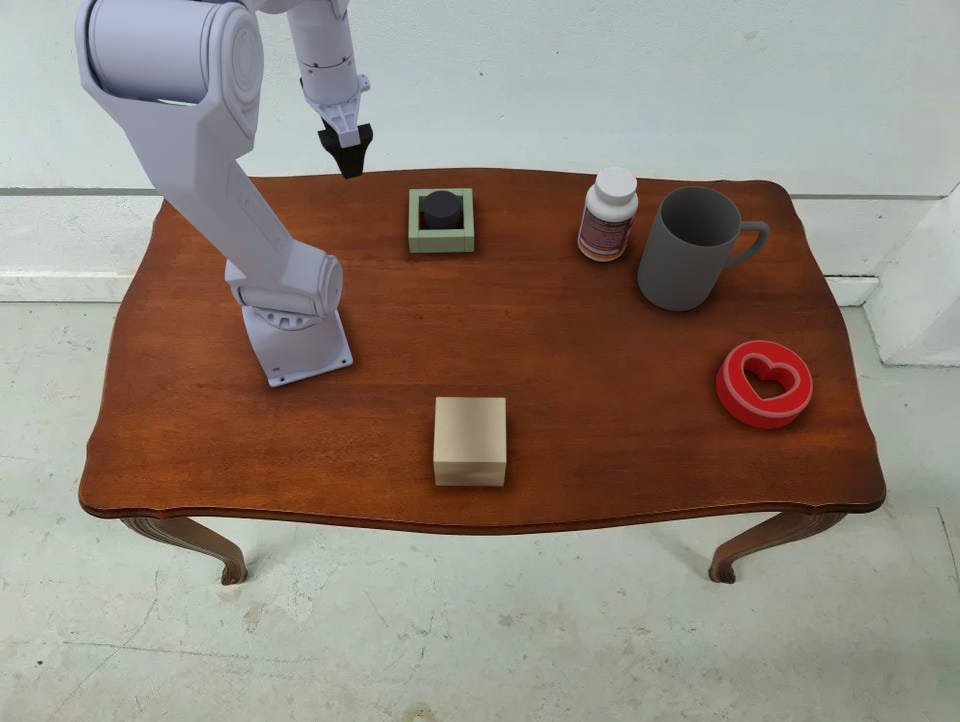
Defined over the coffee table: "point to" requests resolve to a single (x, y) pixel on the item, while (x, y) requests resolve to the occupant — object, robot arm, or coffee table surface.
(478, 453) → the stand
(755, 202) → the coffee table surface
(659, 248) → the mug
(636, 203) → the pill bottle
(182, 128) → the robot arm
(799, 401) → the decorative ornament
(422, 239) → the holder
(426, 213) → the pad plug
